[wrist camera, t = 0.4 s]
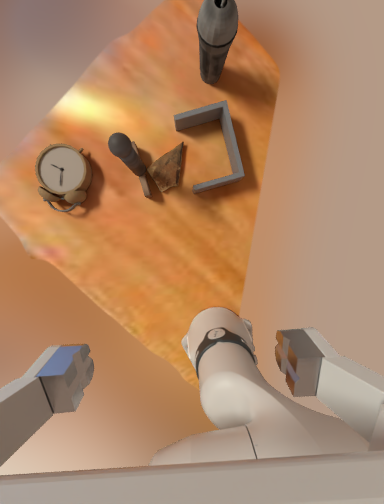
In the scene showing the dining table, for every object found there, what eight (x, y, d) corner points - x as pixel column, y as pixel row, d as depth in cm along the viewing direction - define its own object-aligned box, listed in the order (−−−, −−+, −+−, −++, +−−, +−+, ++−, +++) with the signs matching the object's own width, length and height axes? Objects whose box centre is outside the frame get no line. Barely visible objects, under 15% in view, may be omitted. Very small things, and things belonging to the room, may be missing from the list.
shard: (183, 143, 50) (183, 140, 48) (201, 171, 51) (201, 169, 49) (146, 169, 51) (144, 167, 49) (164, 196, 51) (163, 195, 50)
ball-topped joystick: (156, 195, 51) (139, 176, 32) (142, 199, 51) (117, 183, 32) (142, 145, 49) (115, 96, 31) (127, 149, 49) (92, 103, 31)
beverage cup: (187, 70, 48) (188, -43, 28) (213, 49, 48) (231, -80, 28) (207, 97, 49) (221, 6, 29) (232, 76, 48) (263, -30, 28)
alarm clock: (88, 145, 47) (79, 211, 46) (97, 156, 52) (89, 216, 51) (37, 139, 46) (27, 205, 45) (51, 151, 51) (42, 211, 50)
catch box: (239, 180, 51) (244, 175, 46) (193, 193, 51) (194, 190, 46) (222, 113, 49) (226, 100, 44) (175, 126, 49) (173, 115, 44)
